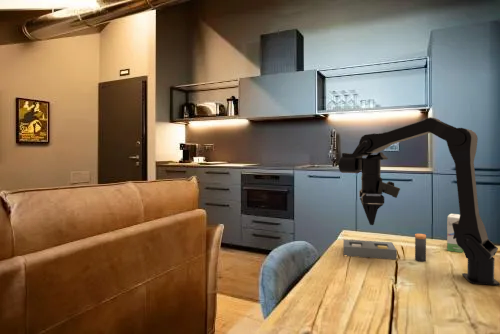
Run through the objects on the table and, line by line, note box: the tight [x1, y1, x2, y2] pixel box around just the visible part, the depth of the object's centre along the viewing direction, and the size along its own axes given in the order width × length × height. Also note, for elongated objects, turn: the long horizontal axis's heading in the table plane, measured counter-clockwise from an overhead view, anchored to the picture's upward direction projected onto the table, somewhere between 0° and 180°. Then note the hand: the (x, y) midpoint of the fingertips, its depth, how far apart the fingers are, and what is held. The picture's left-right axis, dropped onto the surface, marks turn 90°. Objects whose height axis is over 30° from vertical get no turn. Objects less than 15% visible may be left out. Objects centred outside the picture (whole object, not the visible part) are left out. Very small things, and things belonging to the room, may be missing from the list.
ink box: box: [446, 213, 464, 253], centre depth 116 cm, size 8×5×12 cm, turn 143°
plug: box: [414, 233, 427, 263], centre depth 103 cm, size 3×3×8 cm
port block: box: [343, 239, 398, 260], centre depth 111 cm, size 10×16×4 cm, turn 75°
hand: (370, 222), depth 107 cm, fingers open, 9 cm apart
